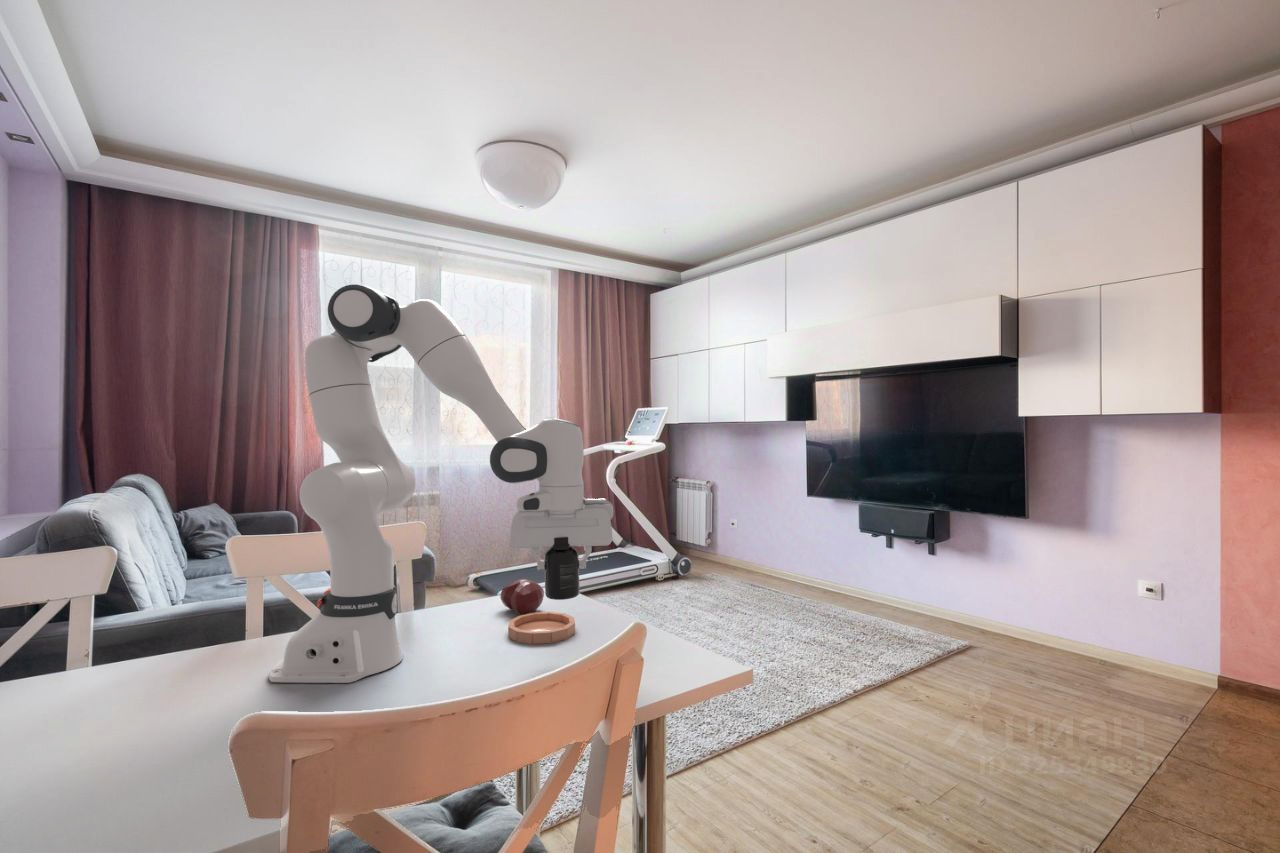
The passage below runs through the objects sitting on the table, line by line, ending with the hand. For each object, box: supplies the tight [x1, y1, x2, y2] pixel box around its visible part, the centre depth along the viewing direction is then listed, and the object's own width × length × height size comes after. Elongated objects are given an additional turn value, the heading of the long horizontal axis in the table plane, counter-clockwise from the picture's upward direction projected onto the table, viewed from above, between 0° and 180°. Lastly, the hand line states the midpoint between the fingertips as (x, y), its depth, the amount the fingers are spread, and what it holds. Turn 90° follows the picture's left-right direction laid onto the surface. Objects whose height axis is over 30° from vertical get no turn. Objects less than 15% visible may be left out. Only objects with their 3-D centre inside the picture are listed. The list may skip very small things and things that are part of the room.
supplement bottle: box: [543, 537, 580, 601], centre depth 120 cm, size 7×7×12 cm
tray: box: [507, 611, 576, 645], centre depth 133 cm, size 14×14×2 cm
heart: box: [500, 578, 545, 616], centre depth 149 cm, size 12×8×10 cm
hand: (561, 568), depth 120 cm, fingers closed on supplement bottle, 7 cm apart
